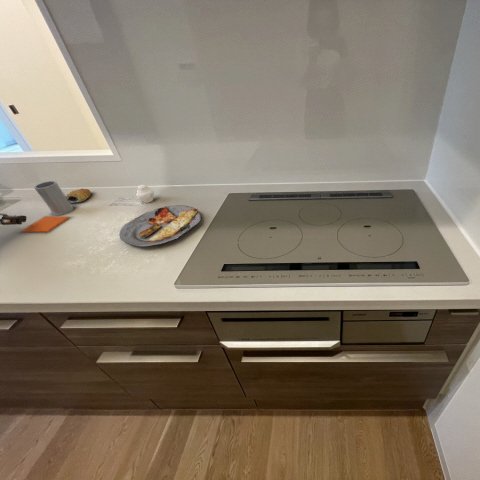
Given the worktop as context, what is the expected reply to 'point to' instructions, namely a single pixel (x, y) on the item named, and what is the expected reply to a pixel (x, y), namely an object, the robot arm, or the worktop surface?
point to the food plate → (160, 225)
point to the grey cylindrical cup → (54, 197)
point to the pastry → (78, 195)
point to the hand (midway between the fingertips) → (10, 216)
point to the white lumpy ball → (145, 193)
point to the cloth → (45, 224)
